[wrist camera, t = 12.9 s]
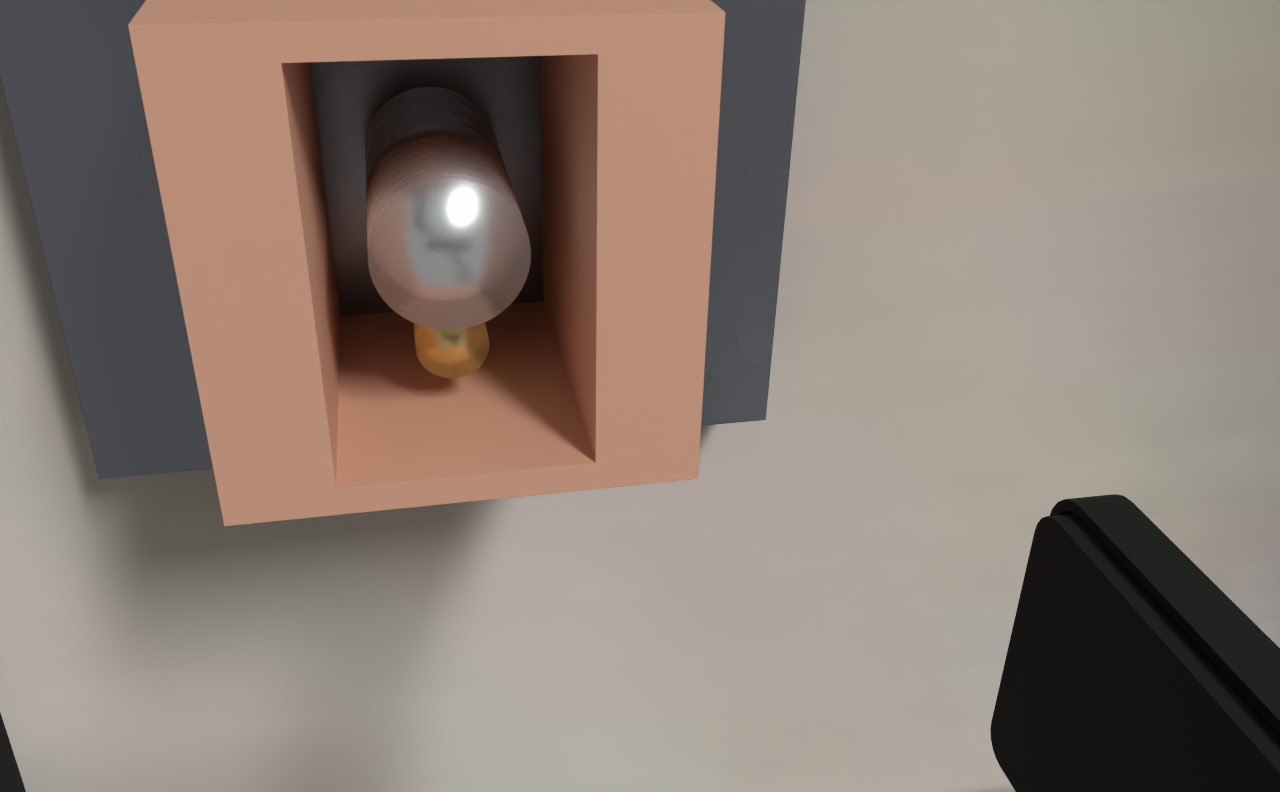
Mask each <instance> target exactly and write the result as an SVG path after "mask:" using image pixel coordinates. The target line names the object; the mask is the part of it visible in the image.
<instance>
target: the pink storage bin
mask: <svg viewBox="0 0 1280 792" xmlns="http://www.w3.org/2000/svg"><path fill="white" fill-rule="evenodd" d="M128 27H129V32H130V38H131V43H132V48H133V53H134V58H135V64H136V69H137V74H138V79H139V84H140V90H141V95H142V100H143V105H144V110H145V116H146V121H147V126H148V131H149V137H150V142H151V147H152V152H153V157H154V163H155V168H156V173H157V178H158V183H159V189H160V194H161V199H162V204H163V210H164V215H165V220H166V225H167V230H168V236H169V241H170V246H171V251H172V256H173V262H174V267H175V272H176V277H177V282H178V288H179V293H180V298H181V303H182V309H183V314H184V319H185V324H186V329H187V335H188V340H189V345H190V350H191V355H192V361H193V366H194V371H195V376H196V382H197V387H198V392H199V397H200V402H201V408H202V413H203V418H204V423H205V428H206V434H207V439H208V444H209V449H210V454H211V460H212V465H213V470H214V475H215V481H216V486H217V491H218V496H219V501H220V507H221V512H222V517H223V522H224V526H232V525H242V524H251V523H261V522H271V521H281V520H291V519H301V518H311V517H321V516H331V515H341V514H351V513H361V512H371V511H381V510H391V509H401V508H411V507H421V506H431V505H441V504H451V503H461V502H471V501H481V500H491V499H501V498H511V497H521V496H530V495H540V494H550V493H560V492H570V491H580V490H590V489H600V488H610V487H620V486H630V485H640V484H650V483H660V482H670V481H680V480H690V479H698V470H699V453H700V436H701V419H702V402H703V385H704V368H705V351H706V334H707V317H708V300H709V283H710V266H711V249H712V232H713V215H714V198H715V182H716V165H717V148H718V131H719V114H720V97H721V80H722V63H723V46H724V29H725V11H723V10H722V9H721V8H720V7H718V6H717V5H716V4H715V3H713V2H712V1H711V0H146V1H145V2H144V4H143V5H142V7H141V8H140V9H139V11H138V12H137V13H136V15H135V16H134V18H133V19H132V20H131V22H130V23H129V24H128ZM516 56H539V86H540V138H541V189H542V241H543V292H544V302H531V303H516V304H510V305H509V306H508V307H507V308H506V309H505V310H504V311H503V312H501V313H500V314H498V315H497V316H496V317H494V318H492V319H490V320H488V321H487V322H485V323H486V328H487V333H488V337H489V352H488V355H487V357H486V359H485V361H484V363H483V364H482V365H481V366H480V367H479V368H478V369H477V370H476V371H474V372H473V373H471V374H469V375H466V376H463V377H459V378H444V377H440V376H437V375H435V374H433V373H431V372H429V371H428V370H427V369H426V368H425V367H424V366H423V365H422V364H421V362H420V361H419V359H418V357H417V353H416V346H415V336H414V325H413V322H411V321H409V320H407V319H405V318H404V317H402V316H401V315H399V314H398V313H396V312H385V313H370V314H355V315H341V316H340V309H339V300H338V292H337V283H336V274H335V266H334V257H333V249H332V240H331V232H330V223H329V215H328V206H327V197H326V189H325V180H324V172H323V163H322V155H321V146H320V138H319V129H318V121H317V112H316V103H315V95H314V86H313V78H312V69H311V62H337V61H373V60H408V59H444V58H480V57H516Z"/></svg>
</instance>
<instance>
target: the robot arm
mask: <svg viewBox="0 0 1280 792" xmlns="http://www.w3.org/2000/svg"><path fill="white" fill-rule="evenodd" d="M991 741H992V746H993V750H994V753H995V756H996V759H997V761H998V763H999V765H1000V767H1001V768H1002V770H1003V772H1004V773H1005V775H1006V776H1007V778H1008V780H1009V781H1010V783H1011V785H1012V786H1013V788H1014V789H1015V791H1016V792H1280V648H1279V647H1278V646H1277V645H1276V644H1275V643H1274V642H1273V641H1272V640H1271V639H1270V638H1269V637H1268V636H1267V635H1266V634H1265V633H1264V632H1263V631H1262V630H1261V629H1260V628H1258V627H1257V626H1256V625H1255V624H1254V623H1253V622H1252V621H1251V620H1250V619H1249V618H1248V617H1247V616H1246V615H1245V614H1244V613H1243V612H1242V611H1241V610H1240V609H1239V608H1238V607H1237V606H1236V605H1235V604H1234V603H1233V602H1232V601H1231V600H1230V599H1229V598H1228V597H1227V596H1226V595H1225V594H1224V593H1223V592H1222V591H1221V590H1220V589H1219V588H1218V587H1217V586H1216V585H1215V584H1214V583H1213V582H1212V581H1211V580H1210V579H1209V578H1208V577H1207V576H1206V575H1205V574H1204V573H1203V572H1202V571H1201V570H1200V569H1199V568H1198V567H1197V566H1196V565H1195V564H1194V563H1193V562H1192V561H1191V560H1190V559H1189V558H1188V557H1187V556H1186V555H1185V554H1184V553H1183V552H1182V551H1181V550H1180V549H1179V548H1178V547H1177V546H1176V545H1175V544H1174V543H1173V542H1172V541H1171V540H1170V539H1169V538H1168V537H1167V536H1166V535H1165V534H1164V533H1163V532H1162V531H1161V530H1160V529H1159V528H1158V527H1157V526H1156V525H1155V524H1154V523H1153V522H1152V521H1151V520H1150V519H1149V518H1148V517H1147V516H1146V515H1145V514H1144V513H1143V512H1142V511H1141V510H1140V509H1139V508H1138V507H1137V506H1135V505H1134V504H1133V503H1132V502H1131V501H1130V500H1129V499H1127V498H1126V497H1124V496H1121V495H1116V494H1114V495H1104V496H1094V497H1084V498H1074V499H1065V500H1062V501H1060V502H1058V503H1057V504H1056V505H1055V506H1054V508H1053V509H1052V511H1051V514H1050V516H1047V517H1044V518H1042V519H1041V520H1040V521H1039V522H1038V524H1037V526H1036V529H1035V533H1034V537H1033V542H1032V546H1031V550H1030V555H1029V559H1028V564H1027V568H1026V572H1025V577H1024V581H1023V586H1022V590H1021V594H1020V599H1019V603H1018V608H1017V612H1016V617H1015V621H1014V625H1013V630H1012V634H1011V639H1010V643H1009V647H1008V652H1007V656H1006V661H1005V665H1004V669H1003V674H1002V678H1001V683H1000V687H999V692H998V696H997V700H996V705H995V709H994V714H993V718H992V723H991ZM0 792H26V791H25V788H24V785H23V782H22V778H21V775H20V772H19V769H18V766H17V763H16V760H15V757H14V754H13V751H12V748H11V744H10V741H9V738H8V735H7V732H6V729H5V726H4V723H3V720H2V717H1V713H0Z"/></svg>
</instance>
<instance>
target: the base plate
mask: <svg viewBox="0 0 1280 792" xmlns="http://www.w3.org/2000/svg"><path fill="white" fill-rule="evenodd" d="M145 1H146V0H0V78H1V82H2V86H3V90H4V94H5V98H6V102H7V106H8V110H9V114H10V118H11V123H12V127H13V131H14V135H15V139H16V143H17V147H18V151H19V155H20V159H21V163H22V167H23V171H24V175H25V179H26V183H27V187H28V191H29V195H30V200H31V204H32V208H33V212H34V216H35V220H36V224H37V228H38V232H39V236H40V240H41V244H42V248H43V252H44V256H45V260H46V264H47V268H48V273H49V277H50V281H51V285H52V289H53V293H54V297H55V301H56V305H57V309H58V313H59V317H60V321H61V325H62V329H63V333H64V337H65V341H66V345H67V350H68V354H69V358H70V362H71V366H72V370H73V374H74V378H75V382H76V386H77V390H78V394H79V398H80V402H81V406H82V410H83V414H84V418H85V422H86V427H87V431H88V435H89V439H90V443H91V447H92V451H93V455H94V459H95V463H96V467H97V471H98V475H99V478H110V477H121V476H133V475H144V474H155V473H167V472H178V471H190V470H201V469H212V468H213V465H212V460H211V454H210V449H209V444H208V439H207V434H206V428H205V423H204V418H203V413H202V408H201V402H200V397H199V392H198V387H197V382H196V376H195V371H194V366H193V361H192V355H191V350H190V345H189V340H188V335H187V329H186V324H185V319H184V314H183V309H182V303H181V298H180V293H179V288H178V282H177V277H176V272H175V267H174V262H173V256H172V251H171V246H170V241H169V236H168V230H167V225H166V220H165V215H164V210H163V204H162V199H161V194H160V189H159V183H158V178H157V173H156V168H155V163H154V157H153V152H152V147H151V142H150V137H149V131H148V126H147V121H146V116H145V110H144V105H143V100H142V95H141V90H140V84H139V79H138V74H137V69H136V64H135V58H134V53H133V48H132V43H131V38H130V32H129V27H128V24H129V23H130V22H131V20H132V19H133V18H134V16H135V15H136V13H137V12H138V11H139V9H140V8H141V7H142V5H143V4H144V2H145ZM711 1H712V2H713V3H715V4H716V5H717V6H718V7H720V8H721V9H722V10H723V11H725V29H724V46H723V63H722V80H721V97H720V114H719V131H718V148H717V165H716V182H715V198H714V215H713V232H712V249H711V266H710V283H709V300H708V317H707V334H706V351H705V368H704V385H703V402H702V419H701V426H702V425H713V424H724V423H736V422H747V421H759V420H765V419H766V409H767V398H768V388H769V377H770V367H771V356H772V346H773V335H774V325H775V315H776V304H777V294H778V283H779V273H780V262H781V252H782V241H783V231H784V220H785V210H786V200H787V189H788V179H789V168H790V158H791V147H792V137H793V126H794V116H795V106H796V95H797V85H798V74H799V64H800V53H801V43H802V32H803V22H804V12H805V1H806V0H711ZM311 69H312V78H313V86H314V95H315V103H316V112H317V121H318V129H319V138H320V146H321V155H322V163H323V172H324V180H325V189H326V197H327V206H328V215H329V223H330V232H331V240H332V249H333V257H334V266H335V274H336V283H337V292H338V300H339V309H340V316H341V315H355V314H370V313H385V312H396V313H398V314H399V315H401V316H402V317H404V318H405V319H407V320H409V321H411V322H413V325H414V336H415V346H416V353H417V357H418V359H419V361H420V362H421V364H422V365H423V366H424V367H425V368H426V369H427V370H428V371H429V372H431V373H433V374H435V375H437V376H440V377H444V378H459V377H463V376H466V375H469V374H471V373H473V372H474V371H476V370H477V369H478V368H479V367H480V366H481V365H482V364H483V363H484V361H485V359H486V357H487V355H488V352H489V337H488V333H487V328H486V323H485V322H487V321H488V320H490V319H492V318H494V317H496V316H497V315H498V314H500V313H501V312H503V311H504V310H505V309H506V308H507V307H508V306H509V305H510V304H516V303H531V302H544V292H543V241H542V189H541V138H540V86H539V56H516V57H480V58H444V59H408V60H373V61H337V62H311Z"/></svg>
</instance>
